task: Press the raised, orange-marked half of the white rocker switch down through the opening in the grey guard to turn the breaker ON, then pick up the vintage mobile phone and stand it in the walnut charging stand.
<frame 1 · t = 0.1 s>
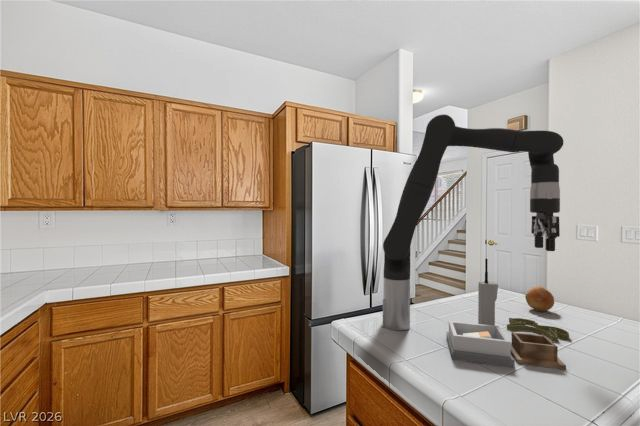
hand: (544, 249, 94), 29 cm above the countertop, tool pointing down, fingers open, 8 cm apart
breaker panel: (476, 351, 88), on the countertop
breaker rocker: (476, 337, 88), point 4 cm above the countertop, hinge at -12.0°
vintage mobile phone: (487, 332, 102), on the countertop
charging stand: (533, 356, 85), on the countertop
onion: (539, 311, 125), on the countertop
cookie cutter: (535, 332, 104), on the countertop
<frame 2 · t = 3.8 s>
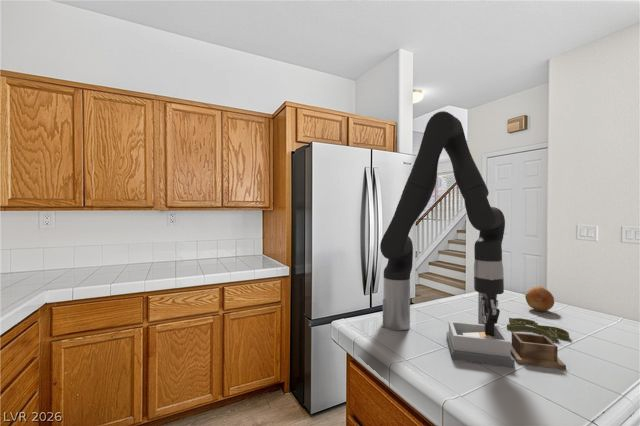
hand: (489, 335, 87), 5 cm above the countertop, tool pointing down, fingers closed
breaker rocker: (476, 337, 88), point 4 cm above the countertop, hinge at -9.6°, touching gripper
everything else where it was.
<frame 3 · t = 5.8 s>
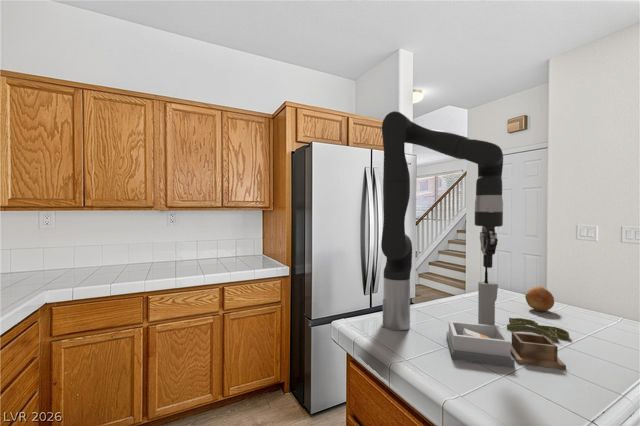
hand: (487, 267, 92), 24 cm above the countertop, tool pointing down, fingers closed
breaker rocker: (477, 337, 88), point 4 cm above the countertop, hinge at 15.7°
everything else where it was.
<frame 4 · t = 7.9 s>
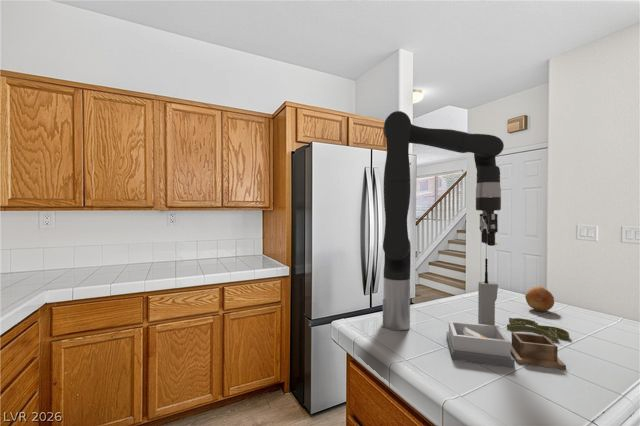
hand: (487, 244, 102), 30 cm above the countertop, tool pointing down, fingers open, 8 cm apart
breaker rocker: (477, 337, 88), point 4 cm above the countertop, hinge at 23.1°, touching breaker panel
everything else where it was.
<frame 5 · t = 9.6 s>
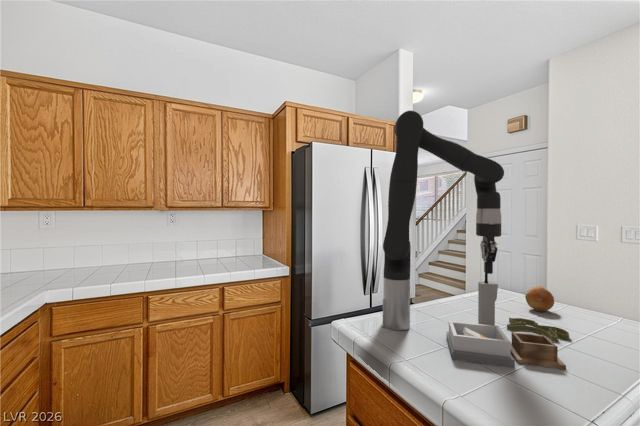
hand: (488, 273, 102), 20 cm above the countertop, tool pointing down, fingers closed on vintage mobile phone
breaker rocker: (477, 337, 88), point 4 cm above the countertop, hinge at 22.5°
vintage mobile phone: (487, 332, 102), on the countertop, touching gripper
everything else where it was.
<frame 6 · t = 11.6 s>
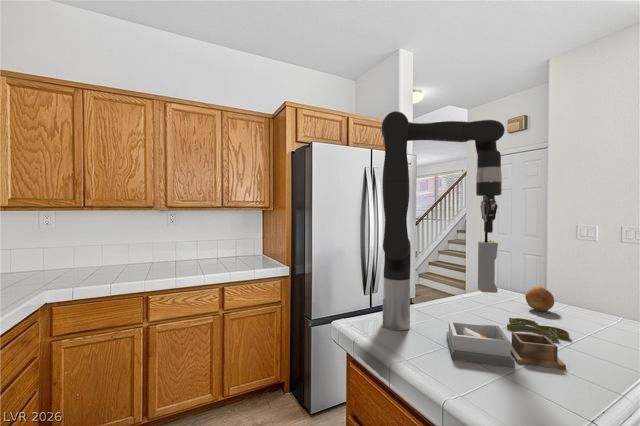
hand: (488, 232, 102), 34 cm above the countertop, tool pointing down, fingers closed on vintage mobile phone
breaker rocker: (477, 337, 88), point 4 cm above the countertop, hinge at 21.9°
vintage mobile phone: (487, 291, 103), point 14 cm above the countertop, touching gripper
everything else where it was.
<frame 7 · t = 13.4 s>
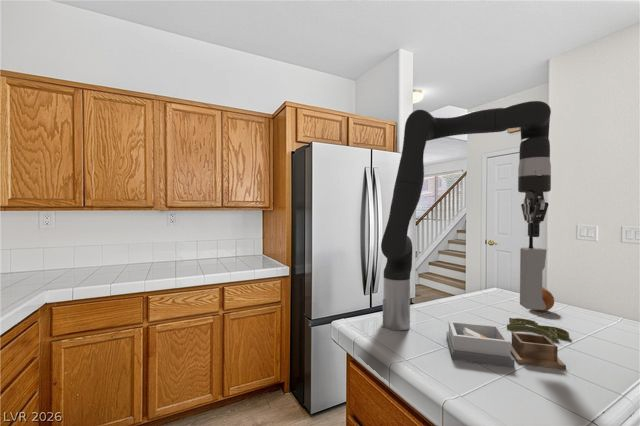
hand: (533, 236, 85), 34 cm above the countertop, tool pointing down, fingers closed on vintage mobile phone
vintage mobile phone: (532, 308, 85), point 14 cm above the countertop, touching gripper
everything else where it was.
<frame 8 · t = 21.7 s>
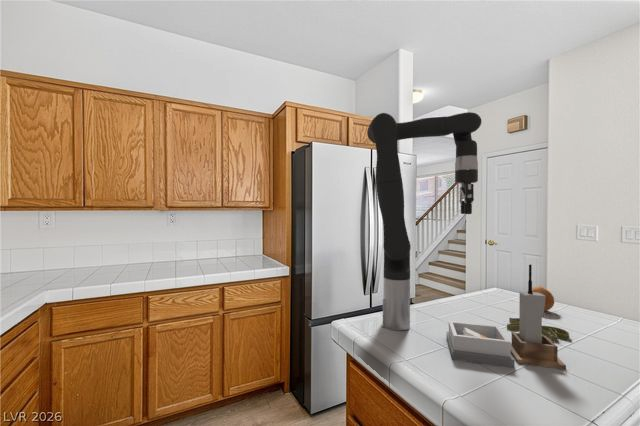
hand: (466, 214, 110), 40 cm above the countertop, tool pointing down, fingers open, 8 cm apart
vintage mobile phone: (532, 353, 85), point 1 cm above the countertop, touching charging stand
everything else where it was.
at the end: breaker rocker at +22° (first picture: -12°); vintage mobile phone 0.3 cm off-centre on the charging stand, point 0.8 cm above the charging stand's base; vintage mobile phone tilted 0° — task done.
